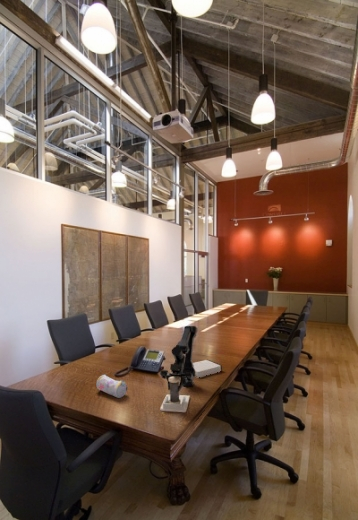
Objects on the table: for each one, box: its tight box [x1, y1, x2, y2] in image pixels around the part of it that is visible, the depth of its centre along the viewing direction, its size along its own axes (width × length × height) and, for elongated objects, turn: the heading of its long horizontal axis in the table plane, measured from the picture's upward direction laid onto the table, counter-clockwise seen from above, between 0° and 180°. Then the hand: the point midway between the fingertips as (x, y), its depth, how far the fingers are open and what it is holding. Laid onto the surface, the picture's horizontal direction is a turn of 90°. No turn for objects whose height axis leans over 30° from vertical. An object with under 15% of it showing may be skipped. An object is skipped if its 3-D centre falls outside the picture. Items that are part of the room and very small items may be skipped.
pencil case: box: [95, 374, 128, 399], centre depth 170 cm, size 21×9×10 cm, turn 54°
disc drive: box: [192, 358, 223, 379], centre depth 205 cm, size 18×22×5 cm
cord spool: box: [168, 376, 181, 404], centre depth 152 cm, size 6×6×13 cm
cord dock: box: [159, 394, 191, 413], centre depth 155 cm, size 17×14×4 cm
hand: (173, 390), depth 151 cm, fingers open, 5 cm apart
